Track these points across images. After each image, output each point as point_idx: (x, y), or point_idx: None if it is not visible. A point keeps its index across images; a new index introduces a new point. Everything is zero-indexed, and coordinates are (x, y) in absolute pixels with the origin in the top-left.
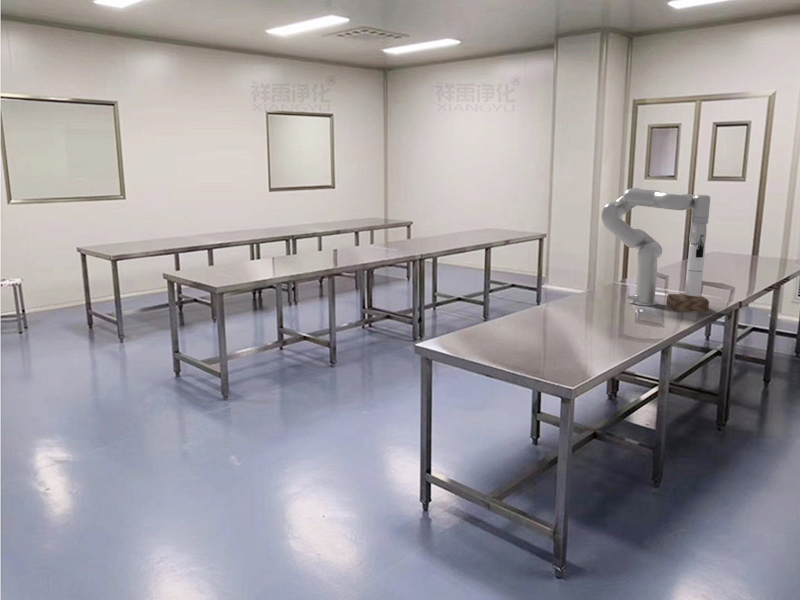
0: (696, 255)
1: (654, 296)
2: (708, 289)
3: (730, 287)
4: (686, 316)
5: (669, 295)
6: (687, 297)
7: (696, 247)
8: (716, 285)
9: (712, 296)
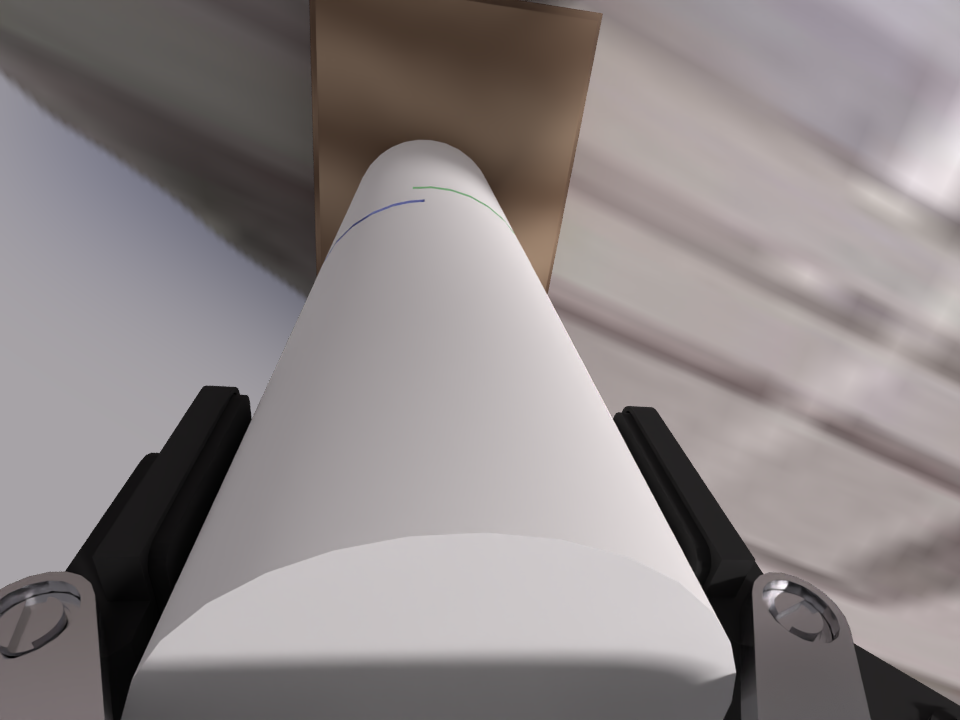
0: (192, 414)
1: None
2: (892, 498)
3: (878, 593)
4: (131, 2)
5: (548, 13)
6: None
7: (159, 623)
8: (946, 559)
9: (736, 456)
